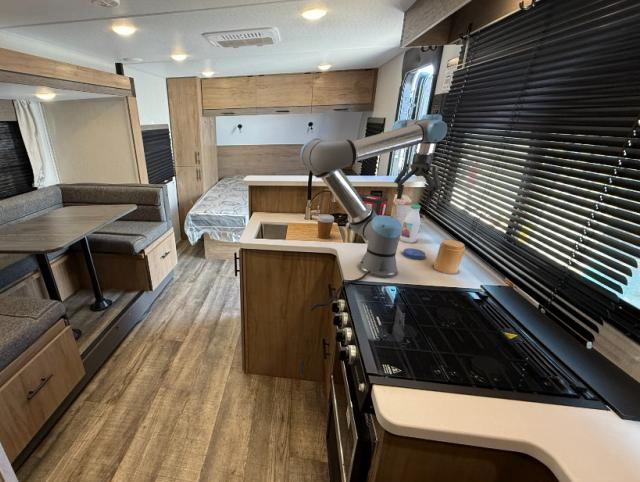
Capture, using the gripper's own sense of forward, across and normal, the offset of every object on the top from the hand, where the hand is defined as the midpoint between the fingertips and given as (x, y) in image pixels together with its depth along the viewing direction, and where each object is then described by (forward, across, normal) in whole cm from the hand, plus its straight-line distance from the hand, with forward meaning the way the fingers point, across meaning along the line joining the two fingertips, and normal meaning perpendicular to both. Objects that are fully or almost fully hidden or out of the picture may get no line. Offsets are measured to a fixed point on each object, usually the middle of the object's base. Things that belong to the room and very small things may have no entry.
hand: (412, 201), depth 141 cm
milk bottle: (+27, +9, -21) cm, 35 cm away
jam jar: (+27, -20, -2) cm, 33 cm away
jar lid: (+25, -4, -4) cm, 26 cm away
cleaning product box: (+27, +33, -16) cm, 45 cm away
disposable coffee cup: (+27, +38, +14) cm, 49 cm away
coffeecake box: (+27, +24, -34) cm, 50 cm away
